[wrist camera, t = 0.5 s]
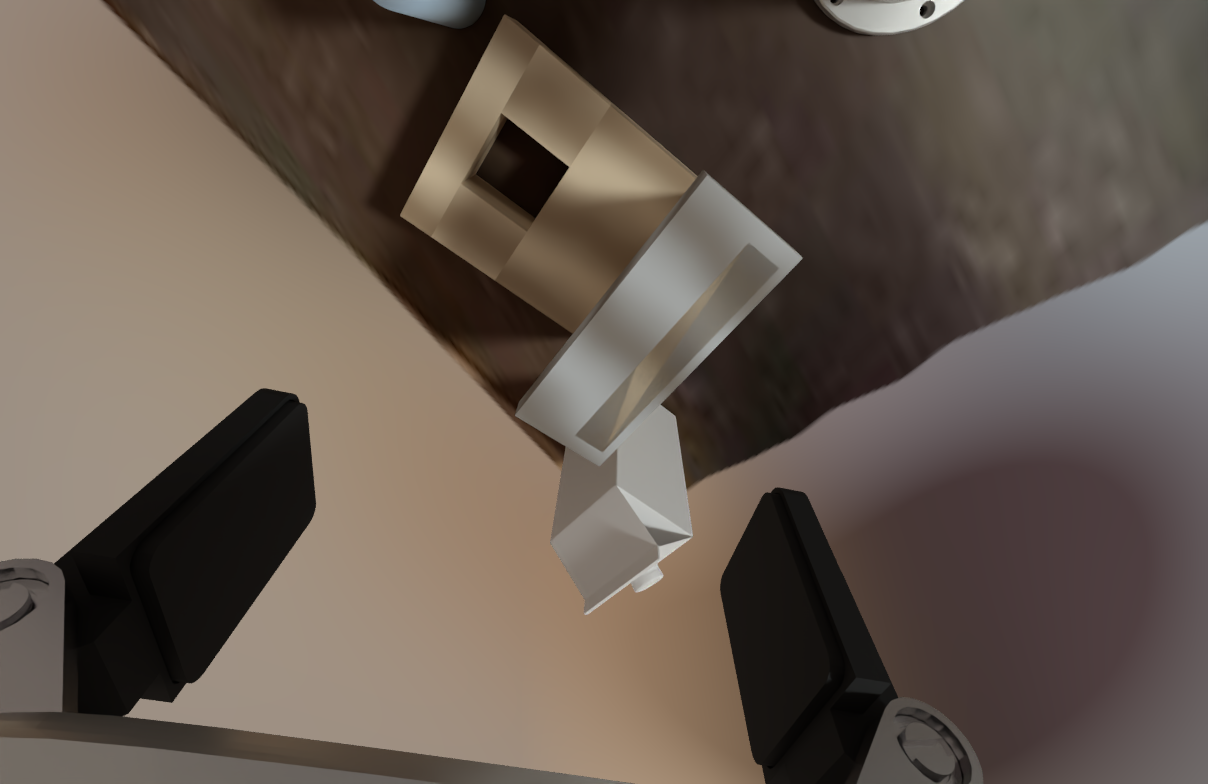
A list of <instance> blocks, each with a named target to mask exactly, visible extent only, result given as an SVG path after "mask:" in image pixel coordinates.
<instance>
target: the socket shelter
mask: <svg viewBox="0 0 1208 784" xmlns="http://www.w3.org/2000/svg"><path fill="white" fill-rule="evenodd" d="M507 119H509V120H511V121H512V122H513V123H514V124H516V125H517V126H518V127H520V128H521V129H522V130H523V131H525V132H526V133H527V134H528V135H530V136H531V137H532V138H533V139H535V140H536V141H537V142H538V143H540V144H541V145H542V146H543V147H545V148H546V149H547V150H548V151H550V152H551V153H552V154H554V155H555V156H556V157H557V158H559V159H560V160H561V161H562V162H564V163H565V164H566V165H567V166H569V168H568V170H567V171H566V173H565V175H564V176H563V178H562V179H561V181H560V182H559V184H558V185H557V187H556V188H555V190H554V191H553V193H552V194H551V196H550V197H549V199H548V200H547V202H546V203H545V205H544V206H543V208H542V209H541V211H540V212H539V214H538V215H537V217H536V218H534V217H533V216H532V215H530V214H529V213H528V212H526V211H525V210H524V209H522V208H521V207H520V206H518V205H517V204H515V203H514V202H513V201H511V200H510V199H509V198H507V197H506V196H505V195H503V194H502V193H501V192H499V191H498V190H497V189H495V188H494V187H493V186H491V185H490V184H489V183H487V182H486V181H484V180H483V179H482V178H480V177H479V176H478V175H476V173H477V171H478V170H479V168H480V166H481V164H482V163H483V161H484V159H485V157H486V156H487V154H488V152H489V150H490V149H491V147H492V145H493V143H494V142H495V140H496V138H497V136H498V135H499V133H500V131H501V129H502V128H503V126H504V124H505V122H506V121H507ZM400 216H401V217H403V218H404V219H406V220H407V221H408V222H410V223H411V224H413V225H414V226H416V227H417V228H419V229H420V230H422V231H423V232H425V233H426V234H427V235H429V236H430V237H432V238H433V239H435V240H436V241H438V242H439V243H441V244H442V245H444V246H445V247H447V248H448V249H449V250H451V251H452V252H454V253H455V254H457V255H458V256H460V257H461V258H463V259H464V260H466V261H467V262H468V263H470V264H471V265H473V266H474V267H476V268H477V269H479V270H480V271H482V272H483V273H485V274H486V275H488V276H489V277H490V278H492V279H493V280H495V281H496V282H498V283H499V284H501V285H502V286H504V287H505V288H507V289H508V290H509V291H511V292H512V293H514V294H515V295H517V296H518V297H520V298H521V299H523V300H524V301H526V302H527V303H529V304H530V305H531V306H533V307H534V308H536V309H537V310H539V311H540V312H542V313H543V314H545V315H546V316H548V317H549V318H551V319H552V320H553V321H555V322H556V323H558V324H559V325H561V326H562V327H564V328H565V329H567V330H568V331H570V332H571V333H572V336H571V337H570V338H569V339H568V341H567V342H566V343H565V344H564V346H563V347H562V348H561V350H560V351H559V352H558V353H557V355H556V356H555V357H554V358H553V360H552V361H551V362H550V363H549V365H548V366H547V367H546V368H545V370H544V371H543V372H542V373H541V375H540V376H539V377H538V379H537V380H536V381H535V382H534V384H533V385H532V386H531V387H530V389H529V390H528V391H527V392H526V394H525V395H524V396H523V397H522V399H521V400H520V401H519V404H518V407H517V410H516V413H515V416H516V417H518V418H519V419H521V420H523V421H524V422H526V423H528V424H529V425H531V426H533V427H534V428H536V429H538V430H539V431H541V432H543V433H544V434H546V435H548V436H549V437H551V438H552V439H554V440H556V441H557V442H559V443H561V444H562V445H564V446H566V447H567V448H569V449H571V450H572V451H574V452H576V453H577V454H579V455H581V456H582V457H584V458H586V459H587V460H589V461H591V462H592V463H594V464H596V465H597V466H599V467H600V466H601V465H602V464H603V463H604V462H605V460H606V459H607V458H608V457H609V456H610V455H611V454H612V453H613V452H614V451H615V450H616V449H617V448H618V447H619V446H620V445H621V444H622V443H623V442H624V441H625V440H626V439H627V438H628V437H629V436H630V435H631V434H632V433H633V432H634V431H635V430H636V429H637V428H638V427H639V426H640V425H641V424H642V423H643V422H644V420H645V419H646V418H647V417H648V416H649V415H650V414H651V413H652V412H653V411H654V410H655V409H656V408H657V407H658V406H659V405H660V404H661V403H662V402H663V401H664V400H665V399H666V398H667V397H668V396H669V395H670V394H671V393H672V392H673V391H674V390H675V389H676V388H677V387H678V386H679V385H680V384H681V383H682V382H683V380H684V379H685V378H686V377H687V376H688V375H689V374H690V373H691V372H692V371H693V370H694V369H695V368H696V367H697V366H698V365H699V364H700V363H701V362H702V361H703V360H704V359H705V358H706V357H707V356H708V355H709V354H710V353H711V352H712V351H713V350H714V349H715V348H716V347H717V346H718V345H719V344H720V343H721V342H722V340H723V339H724V338H725V337H726V336H727V335H728V334H729V333H730V332H731V331H732V330H733V329H734V328H735V327H736V326H737V325H738V324H739V323H740V322H741V321H742V320H743V319H744V318H745V317H746V316H747V315H748V314H749V313H750V312H751V311H752V310H753V309H754V308H755V307H756V306H757V305H758V304H759V303H760V301H761V300H762V299H763V298H764V297H765V296H766V295H767V294H768V293H769V292H770V291H771V290H772V289H773V288H774V287H775V286H776V285H777V284H778V283H779V282H780V281H781V280H782V279H783V278H784V277H785V276H786V275H787V274H788V273H789V272H790V271H791V270H792V269H793V268H794V267H795V266H796V265H797V264H798V263H799V261H800V260H801V259H802V257H801V256H800V255H799V254H798V253H797V252H796V251H795V249H793V248H792V247H791V246H790V245H789V244H788V243H787V242H785V241H784V240H783V239H782V238H781V237H780V236H779V235H777V234H776V233H775V232H774V231H773V230H772V229H771V228H769V227H768V226H767V225H766V224H765V223H764V222H762V221H761V220H760V219H759V218H758V217H757V216H756V215H754V214H753V213H752V212H751V211H750V210H749V209H748V208H746V207H745V206H744V205H743V204H742V203H741V202H740V201H738V200H737V199H736V198H735V197H734V196H733V195H731V194H730V193H729V192H728V191H727V190H726V189H725V188H723V187H722V186H721V185H720V184H719V183H718V182H717V181H715V180H714V179H713V178H712V177H711V176H710V175H709V174H707V173H706V172H705V171H704V170H702V172H701V173H700V174H699V176H696V175H695V174H694V173H693V172H692V171H691V170H689V169H688V168H687V167H686V166H685V165H684V164H683V163H681V162H680V161H679V160H678V159H677V158H676V157H674V156H673V155H672V154H671V153H670V152H669V151H667V150H666V149H665V148H664V147H663V146H662V145H661V144H659V143H658V142H657V141H656V140H655V139H654V138H652V137H651V136H650V135H649V134H648V133H647V132H645V131H644V130H643V129H642V128H641V127H640V126H638V125H637V124H636V123H635V122H634V121H633V120H632V119H630V118H629V117H628V116H627V115H626V114H625V113H623V112H622V111H621V110H620V109H619V108H618V107H616V106H615V105H614V104H613V103H612V102H611V101H610V100H608V99H607V98H606V97H605V96H604V95H603V94H601V93H600V92H599V91H598V90H597V89H596V88H594V87H593V86H592V85H591V84H590V83H589V82H587V81H586V80H585V79H584V78H583V77H582V76H581V75H579V74H578V73H577V72H576V71H575V70H574V69H572V68H571V67H570V66H569V65H568V64H567V63H565V62H564V61H563V60H562V59H561V58H560V57H558V56H557V55H556V54H555V53H554V52H553V51H552V50H550V49H549V48H548V47H547V46H546V45H545V44H543V43H542V42H541V41H540V40H539V39H538V38H536V37H535V36H534V35H533V34H532V33H531V32H530V31H528V30H527V29H526V28H525V27H524V26H523V25H521V24H520V23H519V22H518V21H517V20H515V19H513V18H511V17H509V16H507V15H505V14H504V16H503V18H502V20H501V22H500V24H499V26H498V28H497V30H496V31H495V33H494V35H493V37H492V39H491V41H490V43H489V45H488V47H487V49H486V51H485V53H484V55H483V56H482V58H481V60H480V62H479V64H478V66H477V68H476V70H475V72H474V74H473V76H472V78H471V80H470V81H469V83H468V85H467V87H466V89H465V91H464V93H463V95H462V97H461V99H460V101H459V103H458V105H457V107H456V108H455V110H454V112H453V114H452V116H451V118H450V120H449V122H448V124H447V126H446V128H445V130H444V132H443V133H442V135H441V137H440V139H439V141H438V143H437V145H436V147H435V149H434V151H433V153H432V155H431V157H430V158H429V160H428V162H427V164H426V166H425V168H424V170H423V172H422V174H421V176H420V178H419V180H418V182H417V183H416V185H415V187H414V189H413V191H412V193H411V195H410V197H409V199H408V201H407V203H406V205H405V207H404V208H403V210H402V212H401V214H400Z"/></svg>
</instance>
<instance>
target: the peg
mask: <svg viewBox="0 0 1208 784" xmlns="http://www.w3.org/2000/svg"><path fill="white" fill-rule="evenodd" d="M373 1H374V2H376V3H377V4H378V5H380V6H382V7H384V8H385V9H388V10H391V11H394V12H398V13H401V14H405V15H408V16H412V17H416V18H419V19H423V20H426V21H430V22H433V23H437V24H440V25H444V26H448V27H451V28H457V29H461V28H466V27H469V26H471V25H472V24H474V23H475V22H476V21H477V20H478V19H479V17H480V16H481V14H482V12H483V10H484V6H485V2H486V0H373Z"/></svg>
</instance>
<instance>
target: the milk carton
mask: <svg viewBox="0 0 1208 784" xmlns="http://www.w3.org/2000/svg"><path fill="white" fill-rule="evenodd" d="M692 537H693V534H692V526H691V520H690V512H689V505H688V498H687V492H686V485H685V478H684V471H683V464H682V457H681V451H680V444H679V437H678V430H677V423H676V417H675V416H674V415H673V414H672V413H671V412H669V411H668V410H667V409H665V408H664V407H663V406H661V405H659V406H658V407H657V408H656V409H655V410H654V411H653V412H652V413H651V414H650V415H649V416H648V417H647V418H646V419H645V420H644V422H643V423H642V424H641V425H640V426H639V427H638V428H637V429H636V430H635V431H634V432H633V433H632V434H631V435H630V436H629V437H628V438H627V439H626V440H625V441H624V442H623V443H622V444H621V445H620V446H619V447H618V448H617V449H616V450H615V451H614V452H613V453H612V454H611V455H610V456H609V457H608V458H607V459H606V460H605V462H604V463H603V464H602V465H601V466H600V467H599V466H597V465H596V464H594V463H592V462H591V461H589V460H587V459H586V458H584V457H582V456H581V455H579V454H577V453H576V452H574V451H572V450H571V449H569V448H567V447H566V448H565V454H564V460H563V466H562V472H561V479H560V485H559V491H558V498H557V503H556V510H555V516H554V522H553V528H552V534H551V540H550V543H551V545H552V547H553V549H554V550H555V551H556V553H557V555H558V557H559V558H560V560H561V562H562V563H563V565H564V566H565V568H566V570H567V572H568V573H569V575H570V576H571V578H572V580H573V581H574V583H575V584H576V586H577V588H578V589H579V591H580V593H581V595H582V596H583V597H584V599H585V606H584V614H585V615H588V614H589V613H590V612H592V611H593V610H594V609H595V608H597V607H599V606H600V605H601V604H603V603H604V602H605V601H606V600H608V599H609V598H611V597H612V596H613V595H615V594H616V593H618V592H619V591H620V590H621V589H623V588H624V587H626V586H627V585H628V584H630V583H631V584H632V587H633V588H634V591H635V592H640V591H642V590H645V589H647V588H649V587H650V586H652V585H654V584H655V583H657V582H658V581H659V580H660V579H662V577H663V574H662V572H661V571H660V569H659V567H658V565H657V563H658V562H660V561H661V560H662V559H664V558H665V557H666V556H668V555H669V554H670V553H672V552H673V551H674V550H676V549H677V548H678V547H680V546H681V545H683V544H684V543H685V542H687V541H688V540H689V539H691V538H692Z"/></svg>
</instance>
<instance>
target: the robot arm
mask: <svg viewBox="0 0 1208 784" xmlns="http://www.w3.org/2000/svg"><path fill="white" fill-rule="evenodd" d="M814 1H815V3H816V4H817V5H818V6H819V8H820V9H821V10H822V11H823V12H824V14H825V15H826V16H828V17H829V18H830V19H832V20H833V21H834V22H836V23H837V24H838V25H840V26H841V27H844V28H846V29H849V30H851V31H853V32H856V33H859V34H866V35H873V36H881V35H894V34H899V33H904V32H908V31H913V30H916V29H918V28H921V27H924V26H926V25H929V24H931V23H933V22H935V21H936V20H938V19H939V18H941V17H943V16H944V15H946V14H948V13H949V12H951V11H952V10H954V9H955V8H956V7H958V6H959V5H960V4H961V3H962V2H964V1H965V0H836V1H835V2H834V3H831V2H830V0H814ZM921 6H922V7H923V8H924V12H923V14H922V15H921V16H920V8H921ZM314 489H315V488H314V477H313V467H312V455H311V445H310V434H309V423H308V412H307V407H306V405H305V404H303V403H299V399H298V397H297V396H296V395H295V394H292V393H286V392H281V391H276V390H271V389H260V390H259V391H257V392H255V393H254V394H253V395H252V396H251V397H250V398H248V399H247V400H246V401H245V402H244V403H243V404H241V405H240V406H239V407H238V408H237V409H235V410H234V411H233V412H232V413H231V414H230V415H228V416H227V417H226V418H225V419H224V420H223V421H221V422H220V423H219V424H218V425H217V426H215V427H214V428H213V429H212V430H211V431H210V432H208V433H207V434H206V435H205V436H204V437H203V438H201V439H200V440H199V441H198V442H197V443H195V445H193V446H192V447H191V448H190V449H188V450H187V451H186V452H185V453H184V454H182V455H181V456H180V457H179V458H178V459H177V460H175V461H174V462H173V463H172V464H171V465H169V466H168V467H167V468H166V469H165V470H164V471H162V472H161V473H160V474H159V475H158V476H156V477H155V478H154V479H153V480H152V481H151V482H149V483H148V484H147V485H146V486H145V487H144V488H142V489H141V490H140V491H139V492H138V493H137V494H135V495H134V496H133V497H132V498H131V499H130V500H128V501H127V502H126V503H125V504H124V505H122V506H121V507H120V508H119V509H118V510H117V511H115V512H114V513H113V514H112V515H111V516H109V517H108V518H107V519H106V520H105V521H104V522H102V523H101V524H100V525H99V526H98V527H97V528H95V529H94V530H93V531H92V532H91V533H90V534H88V535H87V536H86V537H85V538H84V539H82V540H81V541H80V542H79V543H78V544H77V545H76V546H74V547H73V548H72V549H71V550H70V551H68V552H67V553H66V554H65V555H64V556H63V557H61V558H60V559H59V560H58V561H57V562H55V563H54V564H53V563H52V562H48V561H43V560H39V559H12V560H7V561H1V562H0V784H632V783H626V782H619V781H611V780H605V779H598V778H590V777H584V776H576V775H569V774H562V773H555V772H548V771H540V770H533V769H526V768H519V767H510V766H504V765H497V764H489V763H482V762H475V761H468V760H460V759H453V758H444V757H438V756H431V755H423V754H416V753H409V752H401V751H394V750H386V749H379V748H371V747H364V746H356V745H348V744H341V743H333V742H326V741H318V740H310V739H303V738H295V737H287V736H280V735H272V734H264V733H256V732H249V731H242V730H234V729H227V728H218V727H208V726H200V725H192V724H183V723H174V722H164V721H156V720H147V719H139V718H130V717H125V715H126V714H128V713H129V712H130V711H131V710H132V708H133V707H134V706H135V704H136V703H137V702H138V701H139V699H140V698H142V699H149V700H156V701H163V702H171V703H172V702H173V701H174V699H175V698H176V697H177V695H178V694H179V692H180V691H181V690H182V688H183V687H184V685H185V684H186V683H193V682H195V681H196V680H198V679H199V678H200V677H201V676H202V674H203V673H204V672H205V671H206V669H207V668H208V666H209V665H210V663H211V662H212V661H213V659H214V658H215V656H216V655H217V653H218V652H219V651H220V649H221V648H222V646H223V645H224V644H225V642H226V641H227V639H228V638H229V636H230V635H231V634H232V632H233V631H234V629H235V628H236V627H237V625H238V624H239V622H240V620H241V619H242V618H243V617H244V615H245V614H246V612H247V611H248V609H249V608H250V607H251V605H252V604H253V602H254V601H255V599H256V598H257V597H258V595H259V594H260V592H261V591H262V590H263V588H264V587H265V585H266V584H267V583H268V581H269V580H270V578H271V577H272V575H273V574H274V573H275V571H276V570H277V568H278V567H279V566H280V564H281V563H282V561H283V560H284V558H285V557H286V556H287V554H288V553H289V551H290V550H291V549H292V547H293V546H294V544H295V543H296V541H297V540H298V538H299V537H300V536H301V534H302V533H303V531H304V530H305V529H306V527H307V526H308V524H309V523H310V521H311V520H312V517H313V515H314V512H315V508H316V499H315V490H314ZM720 591H721V597H722V602H723V607H724V612H725V618H726V622H727V628H728V633H729V638H730V643H731V648H732V654H733V659H734V664H735V669H736V674H737V679H738V684H739V689H740V695H741V700H742V705H743V710H744V715H745V720H746V725H747V730H748V736H749V741H750V746H751V751H752V755H753V758H754V760H755V762H756V763H757V764H759V765H762V768H763V773H764V778H765V783H766V784H983V773H982V769H981V766H980V763H979V761H978V758H977V755H976V754H975V752H974V751H973V749H972V747H971V745H970V744H969V742H968V740H967V739H966V738H965V736H964V735H963V734H962V733H961V732H960V730H959V729H958V728H957V727H956V726H955V725H954V724H953V723H952V722H951V721H950V720H949V719H948V718H946V717H945V716H944V715H943V714H942V713H941V712H939V711H938V710H936V709H934V708H933V707H931V706H930V705H928V704H926V703H924V702H921V701H919V700H916V699H913V698H902V697H900V698H898V696H897V694H896V692H895V689H894V687H893V685H892V683H891V681H890V679H889V676H888V674H887V672H886V670H885V667H884V665H883V663H882V661H881V658H880V656H879V654H878V652H877V650H876V647H875V645H874V643H873V641H872V638H871V636H870V634H869V632H868V629H867V627H866V625H865V623H864V620H863V618H862V616H861V614H860V612H859V610H858V607H857V605H856V603H855V600H854V598H853V596H852V594H851V592H850V589H849V587H848V585H847V583H846V580H845V578H844V576H843V574H842V572H841V570H840V568H839V566H838V564H837V561H836V559H835V557H834V555H833V553H832V550H831V548H830V546H829V544H828V541H827V539H826V537H825V535H824V533H823V530H822V528H821V526H820V523H819V521H818V519H817V517H816V515H815V512H814V510H813V508H812V506H811V503H810V501H809V499H808V497H807V496H806V494H805V493H803V492H799V491H794V490H789V489H784V488H775V489H774V490H773V491H772V492H771V493H765V494H764V495H763V496H762V498H761V500H760V502H759V504H758V506H757V508H756V510H755V512H754V514H753V516H752V518H751V520H750V522H749V524H748V526H747V528H746V530H745V532H744V534H743V536H742V538H741V540H740V542H739V543H738V545H737V547H736V549H735V551H734V553H733V555H732V557H731V559H730V561H729V563H728V565H727V567H726V569H725V571H724V573H723V575H722V579H721V584H720Z"/></svg>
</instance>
